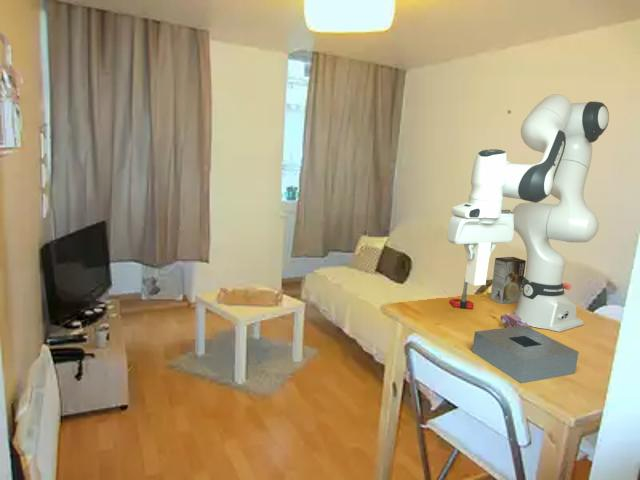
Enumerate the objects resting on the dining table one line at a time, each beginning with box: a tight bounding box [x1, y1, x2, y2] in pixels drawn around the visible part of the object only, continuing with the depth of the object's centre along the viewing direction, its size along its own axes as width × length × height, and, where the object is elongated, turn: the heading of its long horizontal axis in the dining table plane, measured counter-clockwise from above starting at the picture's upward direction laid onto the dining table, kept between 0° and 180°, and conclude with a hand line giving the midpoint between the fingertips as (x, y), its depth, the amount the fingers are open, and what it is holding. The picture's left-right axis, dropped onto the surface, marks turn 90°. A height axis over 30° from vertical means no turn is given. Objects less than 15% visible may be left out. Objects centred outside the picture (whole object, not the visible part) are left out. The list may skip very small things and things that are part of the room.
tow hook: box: [448, 279, 475, 310], centre depth 172 cm, size 8×13×9 cm
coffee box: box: [489, 256, 527, 305], centre depth 179 cm, size 9×6×16 cm
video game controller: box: [499, 312, 531, 328], centre depth 149 cm, size 10×5×7 cm, turn 24°
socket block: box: [471, 326, 580, 384], centre depth 128 cm, size 18×18×6 cm
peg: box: [464, 243, 491, 286], centre depth 135 cm, size 4×4×12 cm
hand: (478, 258), depth 135 cm, fingers closed on peg, 4 cm apart
